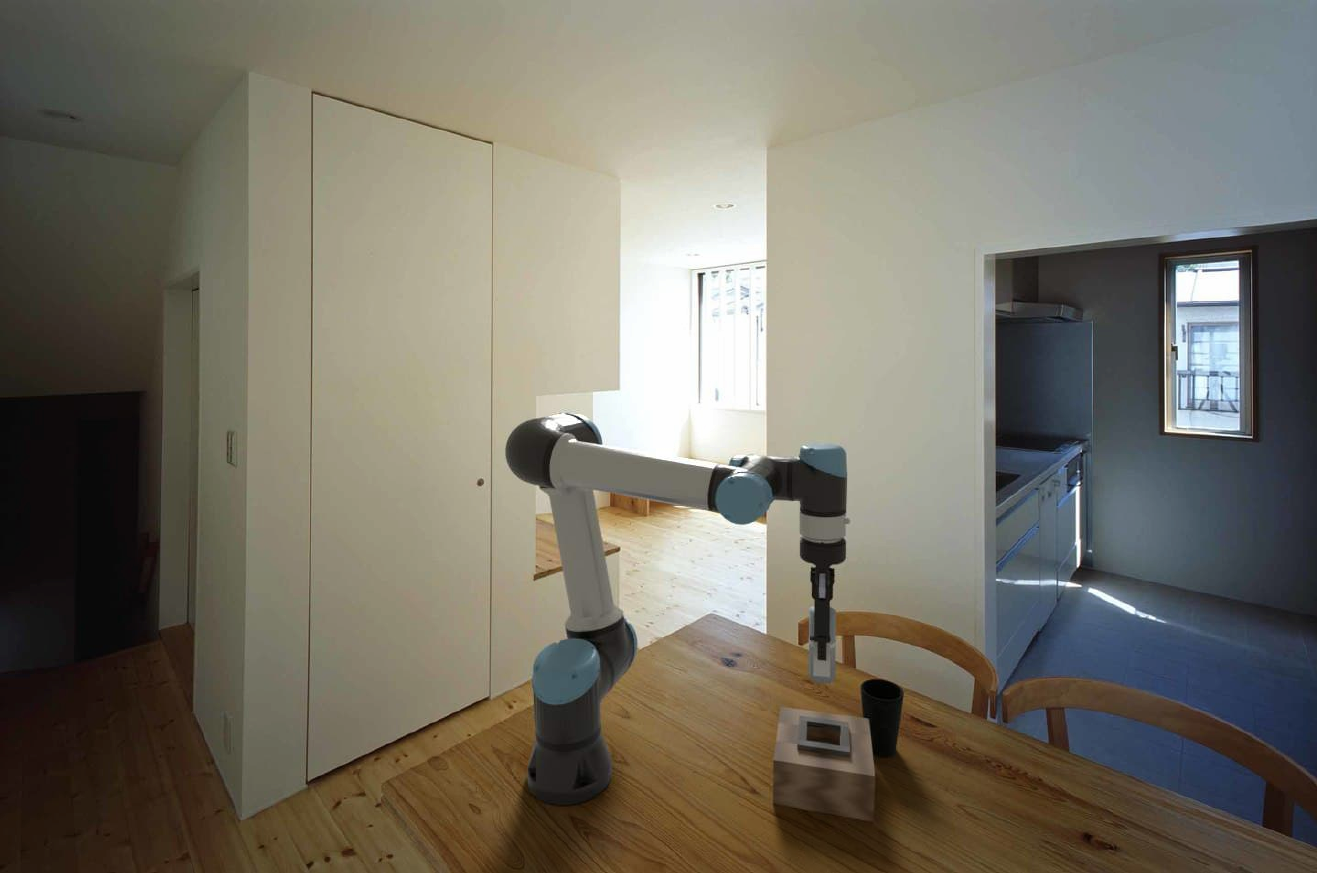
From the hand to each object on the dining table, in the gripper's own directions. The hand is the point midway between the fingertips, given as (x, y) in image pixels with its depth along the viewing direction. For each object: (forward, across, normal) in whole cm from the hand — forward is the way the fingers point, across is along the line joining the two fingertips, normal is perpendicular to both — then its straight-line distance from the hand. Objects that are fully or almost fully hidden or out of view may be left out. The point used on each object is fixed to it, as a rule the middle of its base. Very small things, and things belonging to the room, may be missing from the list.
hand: (821, 667), depth 105 cm
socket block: (+21, 0, 0) cm, 21 cm away
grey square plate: (+16, 0, 0) cm, 16 cm away
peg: (+2, 0, 0) cm, 2 cm away
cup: (+21, +12, -11) cm, 27 cm away
